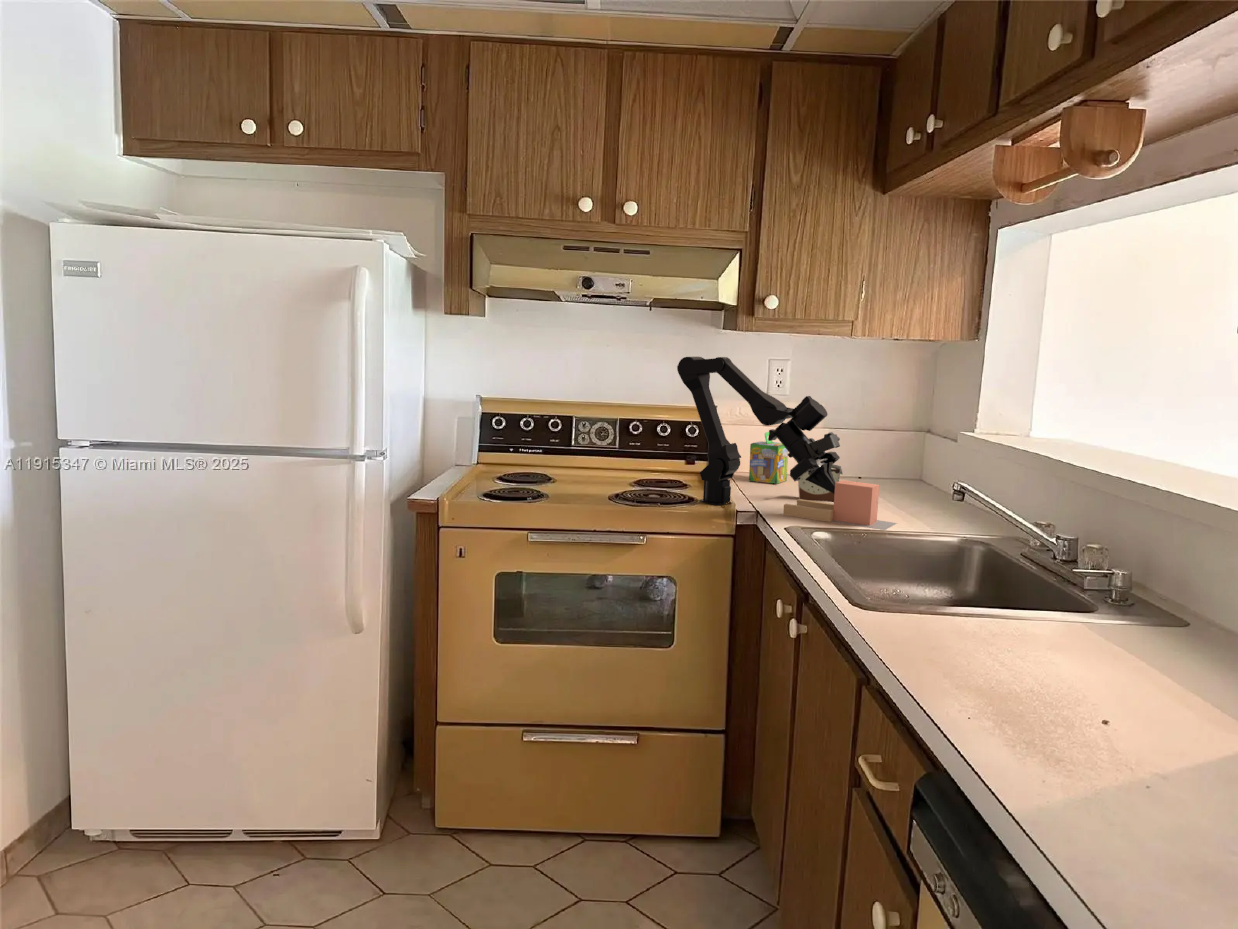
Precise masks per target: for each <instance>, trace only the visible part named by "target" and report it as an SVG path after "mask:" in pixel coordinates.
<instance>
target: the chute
mask: <svg viewBox="0 0 1238 929" xmlns="http://www.w3.org/2000/svg"><path fill="white" fill-rule="evenodd" d="M833 509H834V503H832V502H825V501H813V500H803V499H799V498H798V499H796V504H791V503H785V504H783V512H780V515H782V516H787V517H795V518H803V519H810V520H815V521H824V522H829V523H834V524H840V525H841V524H842V525H847V526H854V527H862V528H867V529H868V528H869V529H876V530H882V531H886V530H888V529H890V528H892V527H893V526H895V525H897V524H898V523H897V522H893V521H892V522H891V521H886V520H878V519H877V522H876V523H874V524H872V525H870V526H869V525H863V524H856V523H849V522H843V521H836V520H833Z"/></svg>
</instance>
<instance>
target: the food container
mask: <svg viewBox="0 0 1238 929" xmlns="http://www.w3.org/2000/svg"><path fill="white" fill-rule="evenodd" d="M831 472H832V475H833V478H834V480H835V482H839V481H840V477H841V475H843V469H842V466H840V465H838V464H835V463H834V464H833V465H832V468H831ZM807 477H809V475H808V471H807V472H805V473H804V474H803V475H802V476H801V477H800V478H801V479H800V480H798V482H797V486H798V499H803V500H810V501H817V502H827V503H834V494H833V493H831V492H829V491H828V490H826V489H824V488H822V487H820V486H818V485H816V484H814V483H811V482H809V481H806V480H805V479H806V478H807Z"/></svg>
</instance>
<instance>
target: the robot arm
mask: <svg viewBox="0 0 1238 929" xmlns="http://www.w3.org/2000/svg"><path fill="white" fill-rule="evenodd" d="M676 368H677V369H676V370H677V374H678V375H679V378H680V380H681V381H682V383H683V384H684V386H686V388H687V389H688V390H689V392H690V393H691V396H692V398H693V401H694V404H695V407H696V410H697V413H698V417H699V419H700V422H701V426H702V428H703V432H704V435H705V437H706V440H707V443H708V445H707V462H708V465H706V466H705V467H704V468H703V469H702V470H701V471H699V475H700V479H701V480H702V481H703V494H702V497H703V498H701V499H699V500H698V501H699V503H705V504H708V505H714V506H722V505H727V504H726V503H728V502H729V501H730V500H731V495H732V494H731V493H732V490H731V489H732V487H731V479H733V477H734V476H735V473H736V472H737V471H738V470H739V467H740V466H741V458H742V455H741V454H740V452H739V448H738V445H737V443H736V442H732V443H730V442H729V440H728V439H727V437H726V434H725V430H724V428H723V426H722V422H721V419H720V416H719V414H718V410H717V407H716V404H715V402H714V398H713V395H712V393H711V390H710V381H711V380H710V379H711V375H710V374H715V373H717V374H718V375H719V376H720V377H721V378H722V379H723V380H724V381H725V382H726V383H727V384H729V386H731V388H732V389H733V390H734V391H735V392H736V393H738V395H740V397H742V398H743V399H744V401H746V402H747V403H748V404H749V406H750V409H751V411H752V413H753V415H754V416H755V417H756V419H757V420H758V422H759V423H760V424H762V425H763V426H766V427H767V426H774V425H778V426H777V427H776V428H775V429H768V432H769V436H767V439H768V440H769V441H772V442H773V441H776V440H777V439H778V441H779V443H782V444H783V445H784V447H785V448H786V449H787V450H788V454H787V455H788V458H793V459H794V460H795V462H796V463H797V464H796V465H794V466H793V467H792V468H791V469H790V471H789V476H790V478H791V479H792V480H793V481H794V482H797V481H798V480H800V479H801V478H800V477H801V476H802V475H803V474H804V473H805V472H807V471H808V475H809V477H807V478H806V479H805V480H806V481H809V482H811V483H814V484H816V485H818V486H820V487H822V488H824V489H826V490H828V491H829V492H831V493H833V494H835V483H836V482H835V480H834V478H833V475H832V472H831V468H832V465H833V464H834V465H835V463H836V462H838V461H839V460H840V459H841V457H840V456H839V455H838V454H837V452H836V451H829V450H831V449H832V450H833V449H837V448H839V447H841V445H840V442H839V441H840V437H839V436H838V435H837V434H835V433H833V431H831V432H828V433H826V434H824V436H823V437H822V438H820V439H817V440H815V439H814V438H811V437H810V438H809V437H808V436H807V435H806V434H805V432H803V431H808V432H811V431H812V430H813V429H814V428H816V427H817V425H819V424H820V422H822V421H823V420H824V419H825V418H827V417H828V415H829V414H828V411H827V409H826V407H824V405H822V404H821V403H819V401H817V400H815V399H814V398H813V397H812V396H811V395H806V396H804V398H803V399H802V400H801V402H800V403H798V405H796V406H795V407H794V408H792V407H787V405H786V404H784V402H782V401H780V400H779V399H777V398H776V397H774V396H772V395H770V394H768V393H766V392H765V391H763V390H762V389H761V388H760V387H758V386H757V384H755V383H754V382H753V381H752V380H751V379H750V378H749V377H748V376H747V375H746V374H745V373H744V372H743V371H742V370H741V369H740V368H738V366H737V365H735V364H734V362H732V360H731V358H729V357H728V356H718V357H715V358H704V357H702V356H685V357H682V358H681V359H680V360H679V362H678V364H677V366H676ZM788 419H789V420H788ZM785 420H788V421H787V422H785ZM826 451H827V452H826Z"/></svg>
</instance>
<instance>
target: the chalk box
mask: <svg viewBox="0 0 1238 929" xmlns="http://www.w3.org/2000/svg"><path fill="white" fill-rule="evenodd" d="M768 437H769V431H767V432H765V433H764V438H765V441H756V442H752V443H750V444H749V445H750V446H749V447H750V448H749V449H750V450H749V455H750V456H749V474H748V481H749V480H750V481H749V482H751V481H756V482H755V483H764V484H773V483H774V485H777V483H778V484H781V483H784V482H787V479H788V478H787V477H788V460H789V456H788V455H787V454H789V452H788V450H787V449H786V448H785V447H784V445H783V444H782V443H781V442H775V441H773V440H772V441H769V440H768Z"/></svg>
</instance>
